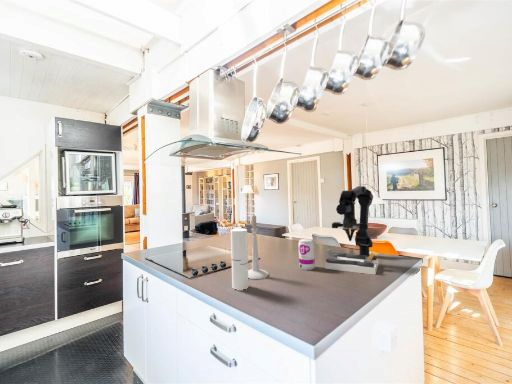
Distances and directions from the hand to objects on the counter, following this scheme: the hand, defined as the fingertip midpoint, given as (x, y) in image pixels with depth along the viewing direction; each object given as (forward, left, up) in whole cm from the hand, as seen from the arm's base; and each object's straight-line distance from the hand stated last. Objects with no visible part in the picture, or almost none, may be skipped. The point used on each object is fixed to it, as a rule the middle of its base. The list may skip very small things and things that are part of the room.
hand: (350, 240), depth 144 cm
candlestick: (+40, -38, -13) cm, 57 cm away
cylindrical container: (+57, -36, -13) cm, 69 cm away
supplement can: (+18, -19, -13) cm, 29 cm away
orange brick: (+6, +10, -9) cm, 14 cm away
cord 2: (-1, +2, -10) cm, 10 cm away
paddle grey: (+6, -8, -9) cm, 13 cm away
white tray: (+6, +2, -13) cm, 14 cm away
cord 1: (+13, +2, -10) cm, 16 cm away
